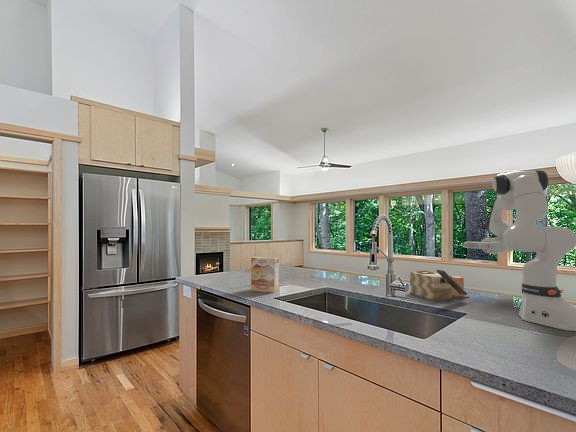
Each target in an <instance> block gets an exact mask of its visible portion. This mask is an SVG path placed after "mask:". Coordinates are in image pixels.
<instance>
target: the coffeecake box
mask: <svg viewBox="0 0 576 432" xmlns="http://www.w3.org/2000/svg"><path fill="white" fill-rule="evenodd" d="M279 259H280V258H279V257H273V256H272V257H271V256H252V257H251V259H250V261H251V263H250V291H251V292H261V293H262V292H263V293H273V294H274V293H277V292H278V291H279V279H280V278H279V276H280V275H279V272H280V271H279V269H280V267H279V266H280V263H279Z"/></svg>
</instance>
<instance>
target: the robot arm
mask: <svg viewBox="0 0 576 432" xmlns="http://www.w3.org/2000/svg"><path fill="white" fill-rule="evenodd" d="M492 179H493V180H492V183H491V184H492V185H491V186H492V188H493V192H494V193H496V194H497V195H499V196H497V197H496V198H495V199H494V201H493V202H492V206H491V209H490V213H489V216H488V218H487V221H486V222H485V230H486V231H487V232H489V233H491V234H493V235H494V236H496V237H485V238H483V239H482V241H464V242H463V247H464V248H466V249H477V250H478V249H479V250H482V251H483V252H484V253H486V254H497V253H498V254H506V253H510V252H513V251H516V252H522V253H523V252H524V253H536V256H535V257H534V258H533V259H532V260H529V261H527V262H526V263H525V262H524V264H523V266H522V282H521V294H522V296H521V303H520V305H521V306H520V308H519V312H518V316H519V317H520V319H521V320H522V321H526V322H528V323H529V322H530V323H533V324H534V323H535V324H538V325H542V326H546V327H551V328H554V329H558V330H559V329H560V330H563V331H569V332H571V331H573V332H574V331H575V332H576V307H575V306H573V305H572V304H571V303H570V302H568V301H567V300H566V299H565V298H564V297H562V294H561V293H563V294H564V291H565V289H560V288H559V287H558V286H557V272H558V266H559V263H561V261H562V258H563V257H564V256H565V255H566V254H568V253H570V252H571V251H572V250H574V249H575V247H576V233H575V231H573V230H572V229H570V228H567V227H562V226H553V225H552V226H541V225H540V226H539V225H537V221H539V220H542V219H543V218H545V217H546V216H547V214H548V213H549V205H548V202H547V199H546V194H545V190H546V189H547V188H548V186H549V181H550V179H549V176H548V173H547V172H546V171H544V170H541V169H540V170H538V169H537V170H523V171H522V170H519V171H517V170H516V171H511V172H505V173H499V174H497V175H495V176H494V177H493V178H492ZM513 210H515V220H514V223H512V224H511V223H509V222H508V221H506V220H504V219H503V217H502V214H503V211H513Z"/></svg>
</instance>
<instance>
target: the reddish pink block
mask: <svg viewBox="0 0 576 432" xmlns="http://www.w3.org/2000/svg"><path fill="white" fill-rule="evenodd" d="M451 276H452V275H451ZM452 279H453V280H454V281H455V282H456V283H457V284H458V285H459V286H460V287H461V288H462V289H463V290H464V291H465V287H464V286H465V285H464V282H465V279H464V276H463V277H462V276H457V275H453V276H452ZM452 295H453V296H456V297H457V296H464V295H463V294H459V293H458V292H457V291H456V290H455V289H454V288H453V287H452Z"/></svg>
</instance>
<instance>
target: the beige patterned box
mask: <svg viewBox="0 0 576 432" xmlns="http://www.w3.org/2000/svg"><path fill="white" fill-rule="evenodd" d="M409 273H410V274H409V275H410V276H409V277H410V278H409V281H410V282H409V285H410V287H409V289H410V294H412V295H416V296H419V297H421V298H425V299H428V300H431V301H442V300H443V301H444V300H452V299H453V298H452V286H451V285H450V284H449V283H445V282H442V280H443V279H444V278H443V277H442V276H441V275H440V274H439V273H438V272H435V271H429V270H416V271H410V272H409ZM449 276H450V277H451V278H452V275H449Z"/></svg>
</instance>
